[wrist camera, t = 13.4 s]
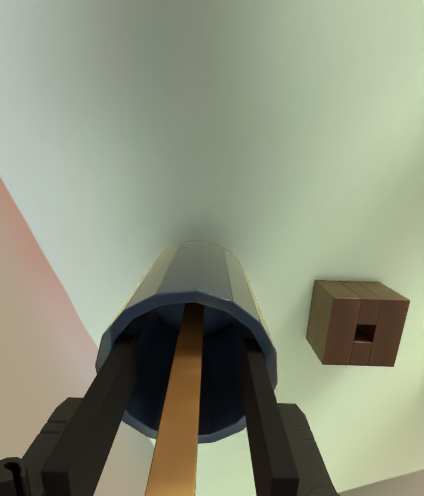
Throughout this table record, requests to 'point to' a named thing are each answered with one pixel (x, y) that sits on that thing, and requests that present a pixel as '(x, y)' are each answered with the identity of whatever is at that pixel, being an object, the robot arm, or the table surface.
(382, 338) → the stick holder
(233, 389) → the cup
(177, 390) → the stir stick
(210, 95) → the table surface
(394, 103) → the table surface
